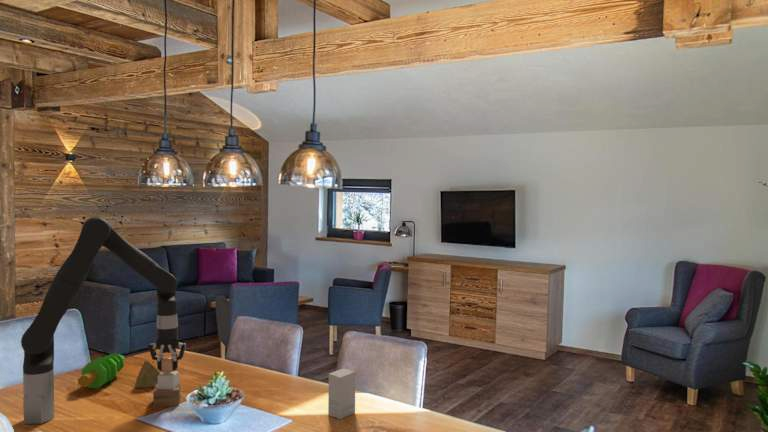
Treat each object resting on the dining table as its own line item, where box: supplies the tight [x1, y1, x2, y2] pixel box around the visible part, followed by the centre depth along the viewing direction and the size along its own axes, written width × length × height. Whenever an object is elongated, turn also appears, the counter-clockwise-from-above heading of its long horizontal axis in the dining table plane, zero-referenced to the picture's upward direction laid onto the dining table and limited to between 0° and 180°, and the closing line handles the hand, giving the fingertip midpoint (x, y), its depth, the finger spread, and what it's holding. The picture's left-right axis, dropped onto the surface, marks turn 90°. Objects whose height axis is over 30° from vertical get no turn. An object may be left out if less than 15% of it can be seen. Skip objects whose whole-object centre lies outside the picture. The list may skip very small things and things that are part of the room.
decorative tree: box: [77, 353, 125, 389], centre depth 251 cm, size 11×12×30 cm
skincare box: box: [327, 367, 356, 420], centre depth 218 cm, size 8×7×16 cm
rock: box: [134, 360, 162, 389], centre depth 245 cm, size 11×9×10 cm
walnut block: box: [152, 381, 182, 408], centre depth 229 cm, size 9×9×6 cm
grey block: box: [158, 370, 180, 389], centre depth 229 cm, size 6×6×5 cm
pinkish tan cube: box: [160, 356, 174, 373], centre depth 228 cm, size 5×5×5 cm
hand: (167, 370), depth 228 cm, fingers closed on pinkish tan cube, 4 cm apart
